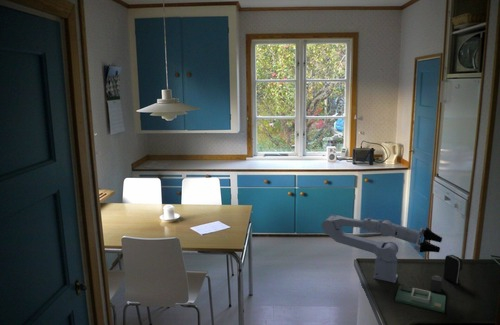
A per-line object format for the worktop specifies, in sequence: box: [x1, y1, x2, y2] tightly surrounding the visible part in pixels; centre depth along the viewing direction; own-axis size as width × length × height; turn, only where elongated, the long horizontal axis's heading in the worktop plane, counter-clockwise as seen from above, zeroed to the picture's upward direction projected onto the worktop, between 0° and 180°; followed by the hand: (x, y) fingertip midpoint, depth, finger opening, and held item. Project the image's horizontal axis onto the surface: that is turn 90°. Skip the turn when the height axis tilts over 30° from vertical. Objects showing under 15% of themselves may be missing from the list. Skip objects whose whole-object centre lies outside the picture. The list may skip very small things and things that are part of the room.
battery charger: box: [443, 254, 464, 284], centre depth 176 cm, size 7×4×11 cm, turn 23°
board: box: [394, 285, 447, 314], centre depth 161 cm, size 18×12×2 cm, turn 62°
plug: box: [430, 275, 443, 293], centre depth 169 cm, size 4×5×5 cm
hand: (440, 245), depth 166 cm, fingers open, 7 cm apart
